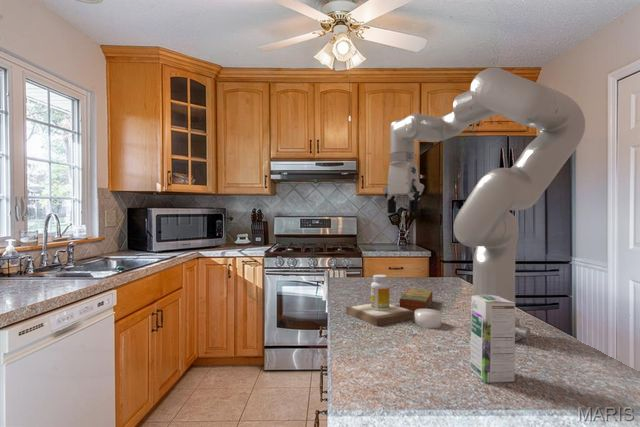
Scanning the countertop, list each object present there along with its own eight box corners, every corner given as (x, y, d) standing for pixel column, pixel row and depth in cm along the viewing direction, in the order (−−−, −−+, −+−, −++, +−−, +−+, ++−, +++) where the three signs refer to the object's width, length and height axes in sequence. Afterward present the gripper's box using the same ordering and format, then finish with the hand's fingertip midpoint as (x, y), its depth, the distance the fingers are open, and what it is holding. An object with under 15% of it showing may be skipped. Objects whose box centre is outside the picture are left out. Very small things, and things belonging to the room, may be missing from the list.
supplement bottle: (392, 307, 107) (392, 275, 107) (385, 312, 102) (385, 277, 102) (375, 305, 110) (375, 273, 110) (367, 309, 105) (367, 276, 105)
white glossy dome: (447, 326, 97) (447, 313, 97) (428, 330, 93) (428, 317, 93) (427, 319, 103) (427, 307, 103) (409, 323, 99) (409, 310, 99)
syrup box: (469, 369, 70) (469, 294, 70) (498, 368, 70) (498, 294, 70) (484, 383, 64) (484, 302, 64) (516, 382, 64) (516, 301, 64)
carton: (432, 302, 124) (433, 290, 124) (426, 314, 109) (426, 300, 109) (408, 299, 127) (408, 287, 127) (398, 311, 112) (398, 297, 112)
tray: (414, 318, 104) (414, 310, 104) (376, 326, 97) (376, 317, 97) (382, 307, 116) (381, 300, 116) (346, 313, 108) (346, 306, 108)
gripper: (431, 157, 109) (431, 213, 109) (392, 163, 124) (392, 213, 124) (413, 154, 106) (413, 213, 106) (375, 162, 120) (375, 213, 120)
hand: (402, 213), depth 115 cm, fingers open, 9 cm apart
